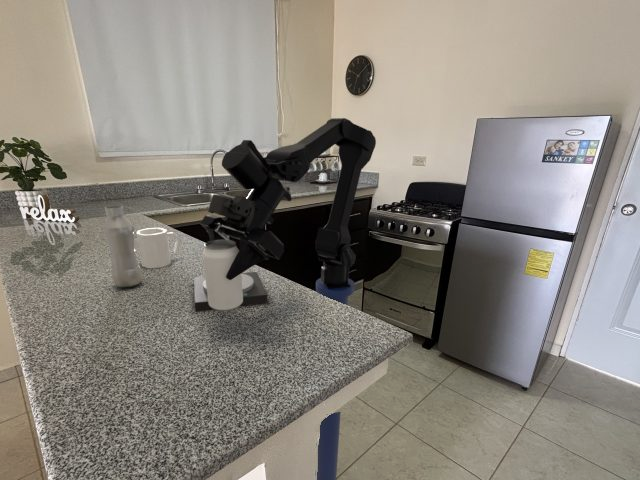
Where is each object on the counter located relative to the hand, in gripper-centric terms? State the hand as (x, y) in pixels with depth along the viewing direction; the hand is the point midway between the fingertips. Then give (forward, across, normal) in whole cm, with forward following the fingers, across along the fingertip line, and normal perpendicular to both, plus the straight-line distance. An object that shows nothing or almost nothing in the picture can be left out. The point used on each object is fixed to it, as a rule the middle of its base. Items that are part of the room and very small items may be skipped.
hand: (216, 273), depth 64 cm
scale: (+1, -14, +18) cm, 23 cm away
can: (+4, 0, +6) cm, 7 cm away
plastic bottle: (+11, -37, +8) cm, 39 cm away
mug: (+1, -47, +18) cm, 50 cm away
